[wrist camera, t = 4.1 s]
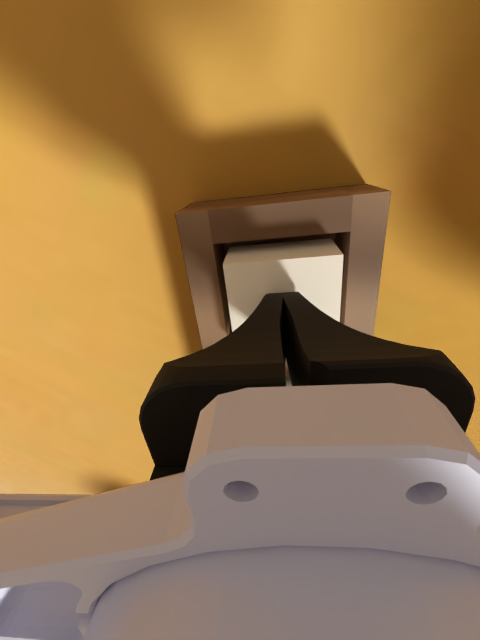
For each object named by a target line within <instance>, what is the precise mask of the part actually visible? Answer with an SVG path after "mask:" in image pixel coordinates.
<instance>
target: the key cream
mask: <svg viewBox="0 0 480 640" xmlns="http://www.w3.org/2000/svg"><path fill="white" fill-rule="evenodd" d="M223 270H224V277H225V284H226V291H227V298H228V305H229V312H230V319H231V326H232V332H233V331H234V330H236V329H237V328H238V327H239V326H240V325H242V324H243V323H244V321H245V320H246V319H247V318H248V317H249V316H250V315H251V314H252V313H253V311H254V310H255V309H256V307H257V306H258V305H259V303H260V302H261V300H262V299H263V297H264V296H265V295H266V294H269V293H283V292H297V291H298V292H299V293H300V294H301V295H303V296H304V297H305V298H306V299H307V300H308V301H309V302H311V303H312V304H313V305H314V306H315V307H317V308H318V309H319V310H321V311H322V312H324V313H325V314H327V315H328V316H330V317H331V318H333V319H335V320H337V321H338V322H340V307H341V290H342V272H343V253H342V252H341V251H340V249H339V248H338V247H337V245H336V244H335V243H334V241H333V240H332V239H331V238H327V239H316V240H305V241H294V242H282V243H271V244H260V245H249V246H237V247H230V248H229V250H228V253H227V255H226V257H225V260H224V262H223Z"/></svg>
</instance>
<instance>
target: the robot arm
mask: <svg viewBox="0 0 480 640" xmlns="http://www.w3.org/2000/svg"><path fill="white" fill-rule="evenodd" d="M286 361H287V366H288V371H289V375H290V380H291V384H292V386H286V376H285V363H286ZM474 403H475V396H474V392H473V388H472V386H471V384H470V383H469V382H468V380H467V379H466V378H465V376H464V375H463V374H462V373H461V372H460V371H459V370H458V368H457V367H456V366H455V365H454V364H453V363H452V362H451V361H450V360H449V359H448V357H447V356H446V355H445V354H444V353H443V352H441V351H439V350H433V349H427V348H421V347H415V346H409V345H404V344H400V343H396V342H392V341H388V340H384V339H381V338H377V337H374V336H371V335H368V334H366V333H363V332H360V331H357V330H355V329H353V328H350V327H348V326H346V325H344V324H342V323H340V322H338V321H337V320H335V319H333V318H331V317H330V316H328V315H327V314H325V313H324V312H322V311H321V310H319V309H318V308H317V307H315V306H314V305H313V304H312V303H311V302H309V301H308V300H307V299H306V298H305V297H304V296H303V295H301V294H300V293H299V292H298V291H297V292H283V293H269V294H266V295H265V296H264V297H263V299H262V300H261V302H260V303H259V305H258V306H257V307H256V309H255V310H254V311H253V313H252V314H251V315H250V316H249V317H248V318H247V319H246V320H245V321H244V323H243V324H242V325H240V326H239V327H238V328H237V329H236V330H234V331H233V332H232V333H230V334H229V335H228V336H226V337H224V338H223V339H221V340H219V341H218V342H216V343H215V344H213V345H211V346H209V347H207V348H205V349H203V350H200V351H198V352H196V353H193V354H191V355H188V356H185V357H182V358H179V359H176V360H173V361H170V362H166V363H164V365H163V366H162V368H161V370H160V371H159V373H158V374H157V376H156V378H155V380H154V382H153V384H152V386H151V388H150V390H149V392H148V394H147V396H146V398H145V400H144V402H143V404H142V406H141V409H140V415H139V421H140V426H141V430H142V433H143V435H144V438H145V440H146V443H147V446H148V448H149V451H150V453H151V456H152V459H153V461H154V464H155V467H154V470H153V473H152V475H151V478H150V481H146V482H142V483H138V484H135V485H131V486H127V487H123V488H119V489H115V490H111V491H107V492H103V493H99V494H95V495H66V494H0V640H480V453H479V452H478V451H477V449H476V448H475V446H474V445H473V444H472V442H471V441H470V439H469V438H468V437H467V435H466V434H465V432H466V429H467V426H468V424H469V421H470V418H471V415H472V413H473V409H474Z"/></svg>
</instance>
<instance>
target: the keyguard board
mask: <svg viewBox="0 0 480 640" xmlns="http://www.w3.org/2000/svg"><path fill="white" fill-rule="evenodd" d="M390 194H391V191H389V190H386V189H382V188H379V187H375V186H372V185H368V184H361V185H352V186H343V187H334V188H324V189H315V190H306V191H297V192H288V193H279V194H270V195H260V196H251V197H242V198H233V199H224V200H215V201H206V202H196V203H191V204H189V205H188V206H186V207H185V208H183V209H182V210H180V211H179V212H177V213H175V217H176V222H177V227H178V232H179V236H180V241H181V246H182V251H183V256H184V261H185V266H186V271H187V275H188V280H189V285H190V290H191V295H192V300H193V305H194V309H195V314H196V319H197V324H198V329H199V334H200V339H201V344H202V348H203V349H205V348H207V347H209V346H211V345H213V344H215V343H216V342H218V341H219V340H221V339H223V338H224V337H226V336H228V335H229V334H230V333H232V326H231V319H230V312H229V305H228V298H227V291H226V284H225V277H224V270H223V262H224V260H225V257H226V255H227V253H228V250H229V248H230V247H237V246H249V245H260V244H271V243H282V242H294V241H305V240H316V239H327V238H331V239H332V240H333V241H334V243H335V244H336V245H337V247H338V248H339V249H340V251H341V252H342V253H343V272H342V290H341V307H340V323H342V324H344V325H346V326H348V327H350V328H353V329H355V330H357V331H360V332H363V333H366V334H368V335H371V336H373V333H374V325H375V317H376V309H377V301H378V292H379V284H380V276H381V268H382V260H383V252H384V243H385V235H386V227H387V219H388V211H389V202H390ZM285 376H286V377H290V375H289V371H288V366H287V361H286V363H285Z"/></svg>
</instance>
